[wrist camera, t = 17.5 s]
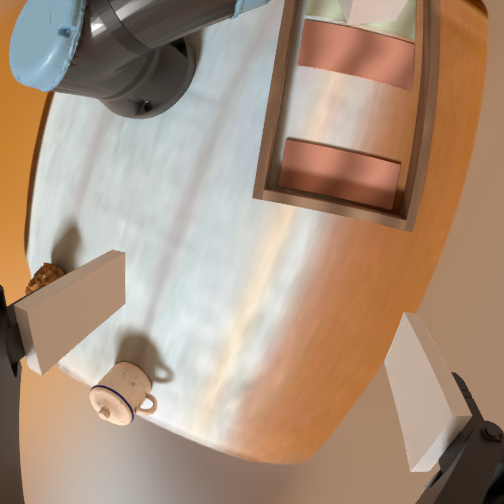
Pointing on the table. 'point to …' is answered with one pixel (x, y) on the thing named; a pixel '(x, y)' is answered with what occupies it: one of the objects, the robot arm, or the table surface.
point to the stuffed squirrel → (44, 277)
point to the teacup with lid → (122, 394)
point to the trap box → (342, 162)
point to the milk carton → (371, 10)
